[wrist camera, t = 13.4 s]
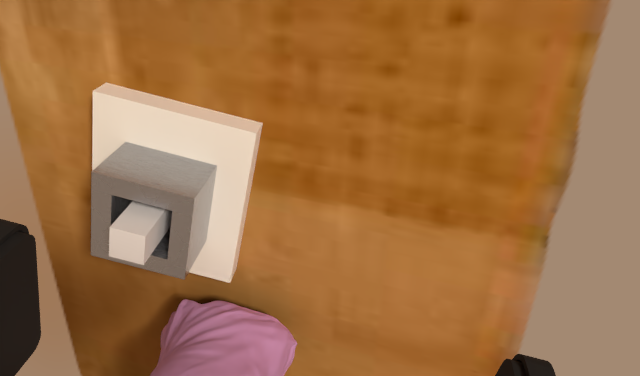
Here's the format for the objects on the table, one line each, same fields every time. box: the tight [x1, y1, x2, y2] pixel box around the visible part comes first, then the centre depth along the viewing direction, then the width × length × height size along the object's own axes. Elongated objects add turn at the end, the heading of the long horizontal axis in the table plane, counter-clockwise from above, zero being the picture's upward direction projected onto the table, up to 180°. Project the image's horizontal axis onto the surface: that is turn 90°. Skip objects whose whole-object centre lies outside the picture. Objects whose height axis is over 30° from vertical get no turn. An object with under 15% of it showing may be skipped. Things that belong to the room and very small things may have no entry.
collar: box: [91, 142, 217, 280], centre depth 38 cm, size 7×7×5 cm
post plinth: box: [92, 83, 263, 283], centre depth 38 cm, size 14×12×9 cm
